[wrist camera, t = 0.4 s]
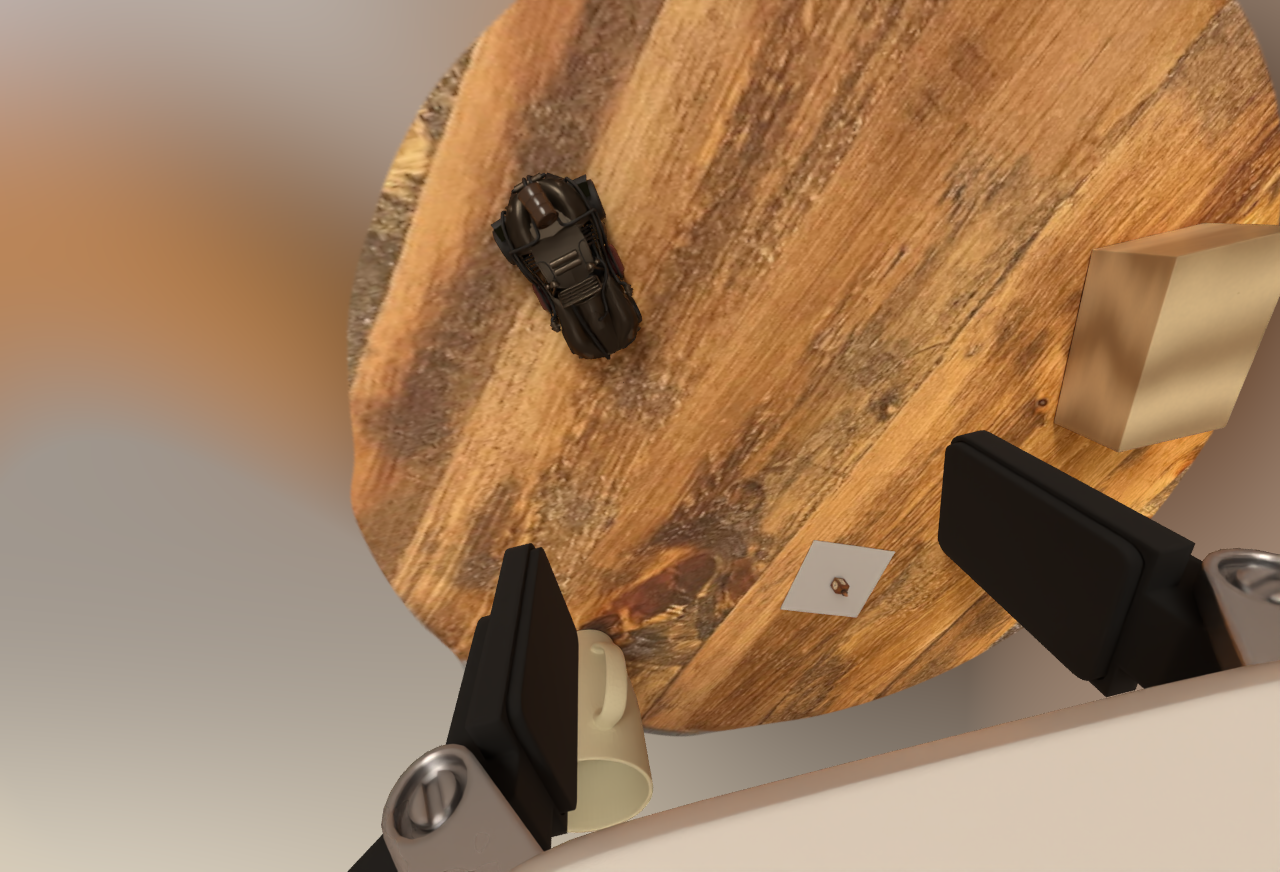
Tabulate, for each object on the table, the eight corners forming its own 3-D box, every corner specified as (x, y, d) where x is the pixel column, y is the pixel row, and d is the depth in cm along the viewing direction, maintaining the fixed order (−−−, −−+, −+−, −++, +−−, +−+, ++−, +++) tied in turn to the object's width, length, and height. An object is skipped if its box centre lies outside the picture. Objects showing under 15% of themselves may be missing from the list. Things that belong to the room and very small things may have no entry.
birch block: (1091, 249, 31) (1177, 256, 26) (1204, 222, 31) (1309, 225, 26) (1053, 422, 37) (1118, 452, 32) (1147, 400, 37) (1225, 427, 32)
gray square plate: (856, 617, 44) (867, 633, 42) (780, 609, 43) (788, 625, 41) (895, 551, 41) (908, 566, 39) (814, 540, 39) (824, 555, 38)
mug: (659, 658, 44) (683, 804, 33) (563, 692, 45) (556, 846, 34) (615, 579, 39) (626, 719, 28) (508, 619, 40) (479, 771, 29)
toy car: (578, 151, 25) (577, 141, 21) (665, 345, 31) (676, 365, 27) (480, 204, 26) (461, 203, 22) (582, 385, 31) (581, 411, 27)
